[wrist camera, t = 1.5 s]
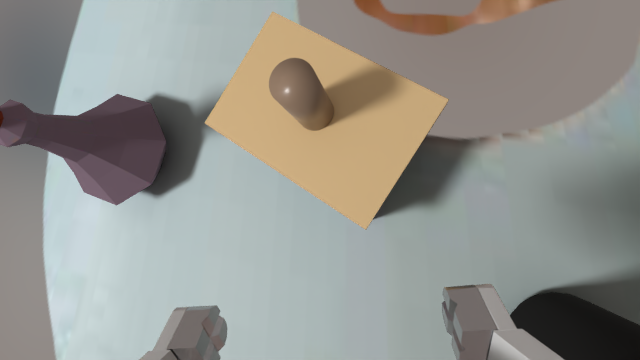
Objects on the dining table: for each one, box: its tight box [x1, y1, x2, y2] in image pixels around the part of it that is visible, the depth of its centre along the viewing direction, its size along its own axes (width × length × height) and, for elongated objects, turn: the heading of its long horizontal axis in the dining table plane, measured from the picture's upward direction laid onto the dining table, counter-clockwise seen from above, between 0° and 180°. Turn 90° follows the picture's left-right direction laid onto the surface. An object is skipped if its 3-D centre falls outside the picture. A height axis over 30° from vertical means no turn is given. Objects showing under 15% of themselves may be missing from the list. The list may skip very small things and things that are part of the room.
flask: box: [0, 94, 166, 205], centre depth 39 cm, size 16×16×20 cm
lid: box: [205, 12, 449, 230], centre depth 30 cm, size 15×22×11 cm
